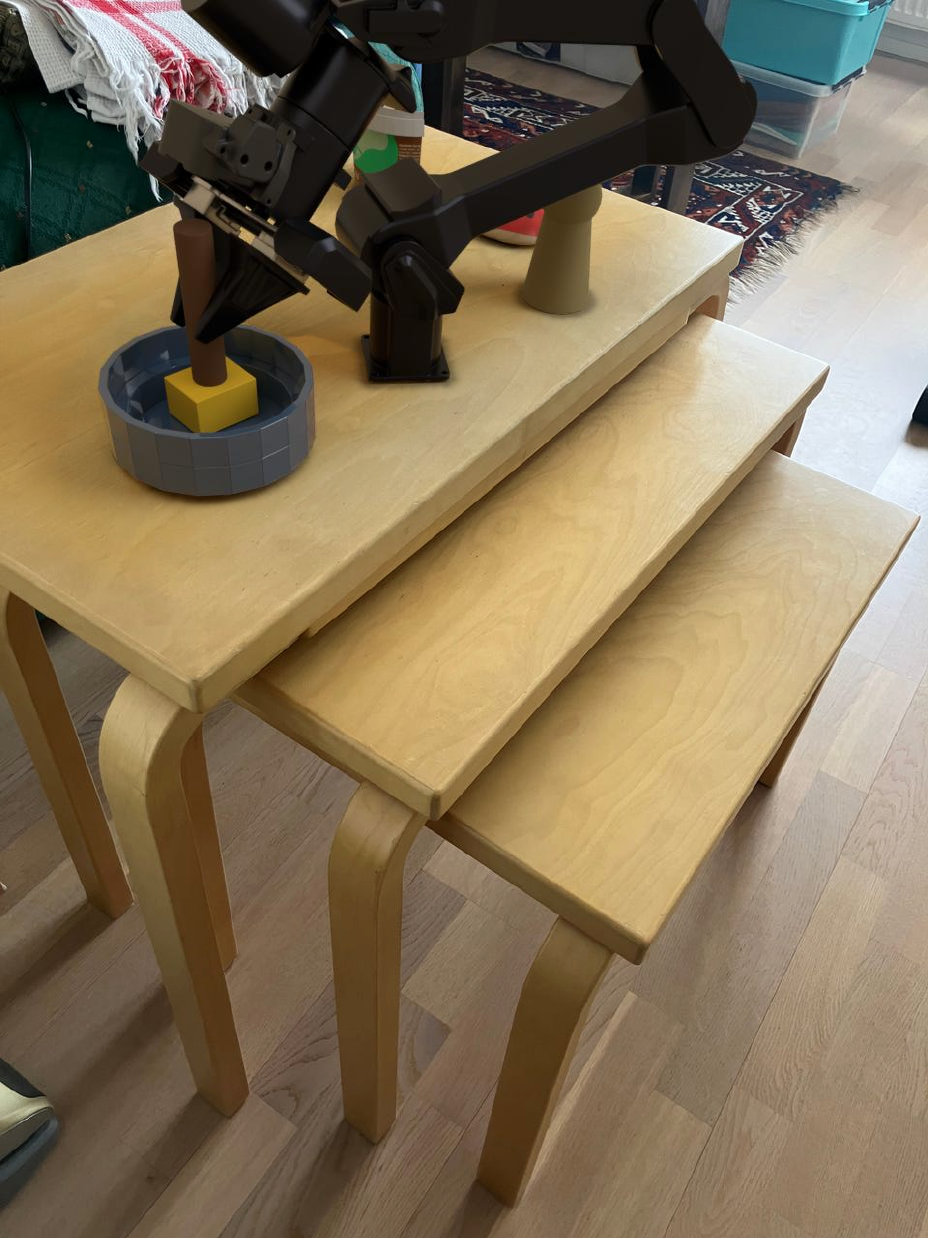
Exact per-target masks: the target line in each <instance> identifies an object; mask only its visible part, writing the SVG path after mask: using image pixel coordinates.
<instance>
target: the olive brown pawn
mask: <svg viewBox="0 0 928 1238" xmlns="http://www.w3.org/2000/svg"><path fill="white" fill-rule="evenodd" d="M602 201H603V187H602V183H601V184H599V185H596V186H594V187H592V188H589V189H587V190H585V191H582V192H580V193H578V194H575V195H573V196H571V197H568V198H566V199H564V200H561V201H559V202H557V203H554V204H552V205H550V206H547V207H545V208H543V210H544V214H543V218H542V221H541V225H540V228H539V232H538V236H537V239H536V243H535V244H534V246H533V249H532V254H531V257H530V261H529V265H528V268H527V272H526V276H525V280H524V282H523V283H524V284H523V287H522V289H521V296H522V298H523V300H524V302H525V303H526V304H527V305H529V306H530V307H532V308H535V309H536V310H538V311H541V312H544V313H549V314H555V315H567V314H568V315H569V314H574V313H577V312H580V311H582V310H583V309H585V308H586V307H587V305H588V303H589V295H590V294H589V292H590V270H591V269H590V268H591V246H592V224H593V218H594V217H595V216H596V214H597V213H598V211H599V209H600V207H601V205H602Z"/></svg>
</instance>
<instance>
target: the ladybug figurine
mask: <svg viewBox="0 0 928 1238" xmlns="http://www.w3.org/2000/svg"><path fill="white" fill-rule="evenodd" d="M543 214H544V210H543V209H540V210H538V211H536V212H534V213H531V214H529V215H527V216H524V217H522V218H520V219H517V220H515V221H513V222H510V223H508V224H506V225H503V226H501V227H499V228H496V229H494V230H492V231H489V232H487V233H485V234H482V235H481V236H484V237H487V238H490V239H492V240H496V241H498V242H503V243H507V244H512V245H520V246H532V245H534V246H535V243H536V239H537V236H538V232H539V228H540V225H541V221H542V218H543Z"/></svg>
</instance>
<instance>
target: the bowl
mask: <svg viewBox="0 0 928 1238" xmlns="http://www.w3.org/2000/svg"><path fill="white" fill-rule="evenodd" d="M223 337H224V347H225V356H226V357H228V358H229V359H230V360H232V361H233V362H234V363H236V364H237V365H238V366H240V367H241V368H242V369H244V370H245V371H246V372H248V373H249V374H250V375H252V376H253V377H254V378H256V386H257V398H258V411H259V413H258V414H256V415H254V416H252V417H249V418H247V419H245V420H242V421H240V422H238V423H235V424H233V425H231V426H228V427H226V428H224V429H222V430H219V431H217V432H214V433H194V432H193V431H191V430H190V429H189V428H188V427H186V426H185V425H184V424H183V423H182V422H180V421H179V420H178V419H177V418H176V417H174V416H173V415H172V414H171V413H170V412H169V406H168V399H167V393H166V386H165V380H164V377H166V376H169V375H172V374H174V373H177V372H179V371H182V370H184V369H187V368H190V367H191V362H190V354H189V347H188V339H187V332H186V326H185V327H180V326H178V325H176V324H174V325H168V326H161V327H158V328H156V329H153V330H151V331H148V332H145V333H142V334H139V335H137V336H134V337H133V338H131V339H129V340H128V341H127V342H126V343H124V344H123V345H121V346H119V347H118V348H117V349H115V350H114V351H112V353H111V354H110V356H108V357H107V359H106V361H105V362H104V364H103V365H102V366H101V367H100V369H99V374H98V375H99V376H98V382H97V392H98V397H99V401H100V407H101V411H102V416H103V419H104V420H103V421H104V425H105V429H106V436H107V440H108V444H109V445H108V446H109V448H110V449H111V452H112V454H113V456H114V458H115V460H116V463H117V464H118V465H119V466H120V467H121V468H122V469H124V471H126V472H127V473H128V474H130V475H131V476H132V477H133V478H134V479H135V480H137V481H139V482H140V483H144V484H146V485H149V486H151V487H153V488H156V489H158V490H161V491H163V492H169V493H175V494H180V495H187V496H193V497H208V496H209V497H211V496H213V497H214V496H228V495H229V496H231V495H235V494H239V493H243V492H248V491H251V490H255V489H259V488H263V487H267V486H268V485H270V484H273V483H274V482H276V481H278V480H280V479H282V478H284V477H287V476H289V475H290V474H291V473H293V472H294V471H295V470H296V469H297V468H298V467H299V466H300V465H301V464H302V463H303V462H304V461H305V460H306V459H307V458H308V457H309V455H310V452H311V450H312V448H313V445H314V443H315V441H316V437H317V436H316V435H317V434H316V432H317V431H316V401H315V400H316V399H315V397H316V396H315V379H314V371H313V365H312V363H311V361H310V360H309V359H308V357H307V356H306V354H305V353H304V352H303V350H302V349H301V348H300V347H298V346H297V345H296V344H294V343H292V342H291V341H290V340H288V339H286V338H285V337H284V336H282V335H280V334H278V333H275V332H272V331H269V330H266V329H264V328H261V327H258V326H255V325H250V324H243V323H241V324H240V325H238V326H236V327H235V328H233V329H232V330H230V331H228V332H227V333H225V334H223Z"/></svg>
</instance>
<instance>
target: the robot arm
mask: <svg viewBox="0 0 928 1238" xmlns="http://www.w3.org/2000/svg"><path fill="white" fill-rule="evenodd" d="M179 2H180V8H181V10H182V11H183V12H184V13H185V14H187V15H188V16H189V17H190V18H191V19H192V20H193V21H194V22H195V23H197V24H198V25H199V27H201V28H202V29H203V30H204V31H205V32H207V33H208V34H209V35H210V36H211V37H212V38H213V39H214V40H216V41H217V42H218V43H219V44H220V45H221V46H222V47H223V48H224V49H225V50H227V52H229V53H230V54H231V55H232V56H233V57H234V58H235V59H236V60H238V61H239V62H240V63H241V64H242V65H243V66H244V67H246V68H247V69H248V71H250V72H251V73H252V74H253V75H254V76H256V78H260V79H262V78H263V79H264V78H268V77H270V76H272V75H275V76H276V77H278V79H280V80H281V79H283V78H285V77H286V76H287V75H288V76H287V78H286V79H285V81H284V83H283V85H282V87H281V88H280V89H279V91H278V93H277V95H276V97H275V98H274V100H273V101H272V103H271V104H270V106H269V108H267V107H265V106H262V105H261V104H259V103H257V102H255V103H254V104H253V105H250V106H248V107H247V108H246V110H245V111H244V113H243V114H242V113H240V114H238V115H236V117H235V118H233V117H230V116H227V115H225V114H222V113H219V112H216V111H214V110H210V109H207V108H204V107H201V106H198V105H195V104H192V103H189V102H185V101H183V100H179V99H176V98H169V103H168V107H167V111H166V115H165V120H164V124H163V128H162V133H161V137H160V139H159V140H154V141H152V142H151V144H150V145H149V147H148V150H147V151H146V153H145V155H144V157H143V158H142V160H141V161H140V163H139V165H138V166H139V167H140V168H141V169H142V170H144V171H145V172H147V174H149V175H151V176H152V177H153V178H154V179H155V180H157V181H158V182H160V183H161V184H162V185H163V186H165V188H168V189H169V190H170V191H171V192H173V193H174V194H175V195H173V197H172V203H173V206H174V207H176V208H177V209H178V212H179V215H180V220H183V219H190V218H195V219H202V220H205V221H207V222H209V223H210V224H211V226H212V231H213V241H214V251H215V260H216V270H217V280H218V287H217V288H216V290H215V292H214V294H213V296H212V298H211V299H210V301H209V303H208V305H207V307H206V309H205V310H204V312H203V314H202V316H201V318H200V321H199V323H198V325H197V328H196V330H195V332H194V338H195V339H196V340H197V341H199V342H201V343H202V344H204V345H207V344H209V343H210V342H212V341H214V340H215V339H217V338H219V337H220V336H222V335H223V334H225V333H227V332H228V331H230V330H232V329H233V328H235V327H236V326H238V325H240V324H243V323H245V322H246V321H248V320H249V319H251V318H253V317H255V316H257V315H258V314H260V313H262V312H263V311H266V310H267V309H270V308H271V307H272V306H275V305H277V304H279V303H280V302H284V301H285V300H287V299H289V298H291V297H293V296H295V295H297V294H302V295H304V296H306V297H307V296H308V295H309V293H311V288H309V287H308V286H306V285H305V284H306V283H307V281H308V279H309V278H311V279H313V280H314V281H315V282H317V283H318V284H319V285H320V286H321V287H323V288H324V289H325V290H326V293H327V295H329V296H330V297H332V298H333V299H335V300H336V301H338V303H341V304H342V305H344V306H345V307H346V308H349V309H350V310H351V311H353V312H355V313H356V314H357V313H358V312H359V311H360V309H361V308H362V306H363V305H364V303H365V301H366V300H367V299H368V297H369V300H370V301H369V333H365V334H362V335H361V336H360V344H361V348H362V354H363V359H364V365H365V370H366V375H367V380H368V382H371V383H402V382H403V383H405V382H437V381H438V382H441V381H443V382H444V381H448V380H449V379H450V376H451V370H450V368H449V364H448V361H447V359H446V354H445V350H444V347H443V344H442V337H443V322H444V316H445V315H453V314H455V313H456V312H457V311H458V308H459V305H460V303H461V301H462V299H463V296H464V293H465V291H466V287H465V285H464V284H463V283H462V282H461V281H460V279H459V278H458V277H457V276H456V274H455V273H454V272H453V270H452V269H451V267H452V266H453V264H454V263H455V261H456V260H457V259H458V258H459V257H460V256H461V254H462V253H463V251H465V249H466V248H467V247H468V246H469V244H470V243H471V242H472V241H473V240H475V239H476V238H478V237H481V236H483V235H482V234H485V233H487V232H489V231H492V230H494V229H496V228H499V227H501V226H503V225H506V224H508V223H510V222H513V221H515V220H517V219H520V218H522V217H524V216H527V215H529V214H531V213H534V212H536V211H538V210H540V209H543V208H545V207H547V206H550V205H552V204H554V203H557V202H559V201H561V200H564V199H566V198H568V197H571V196H573V195H575V194H578V193H580V192H582V191H585V190H587V189H589V188H592V187H594V186H596V185H599V184H601V185H602V184H604V183H606V182H608V181H610V180H612V179H614V178H618V177H620V176H622V175H624V174H627V173H629V172H631V171H634V170H637V169H639V168H641V167H646V166H651V167H652V166H654V167H655V166H657V167H661V166H662V167H690V166H693V165H698V164H703V163H707V162H710V161H715V160H719V159H722V158H725V157H728V156H729V155H730V154H732V153H735V152H736V151H737V150H738V149H739V148H740V147H742V145H743V144H744V143H745V137H746V136H747V135H748V134H749V132H750V130H751V128H752V126H753V124H754V121H755V118H756V115H757V109H758V97H757V91H756V88H755V86H754V85H753V83H752V82H751V81H749V80H747V79H746V78H745V77H744V76H742V75H741V74H739V73H738V72H737V69H736V67H735V65H734V64H733V62H732V61H731V59H730V58H729V56H728V54H727V53H726V52H725V50H724V48H723V47H722V45H721V44H720V42H719V41H718V40H717V39H716V36H715V35H714V34H713V32H712V31H711V30H710V28H709V26H708V25H707V23H706V22H705V19H704V17H703V14H702V13H701V11H700V9H699V7H698V4H697V2H696V1H695V0H180V1H179ZM330 16H334V17H335V18H336V19H337V20H338V21H339V22H340V23H341V24H342V25H343V26H344V27H345V28H346V29H347V30H348V31H349V32H350V33H351V34H352V35H353V36H350V37H346V36H345V35H344V34H343V33H342V32H341V31H340V30H338V28H337V27H335V25H334V24H332V22H331V21H330V20H329V19H328V18H329V17H330ZM371 43H373V44H380V45H385V46H386V47H387V48H388V49H389V51H391V52H392V53H393V54H394V55H396V56H397V57H398V58H399V59H401V60H403V61H404V62H407V63H412V64H417V65H424V64H427V65H428V64H432V63H439V62H442V61H448V60H455V59H460V58H465V57H469V56H471V55H473V54H475V53H477V52H479V51H481V50H483V49H485V48H487V47H489V46H492V45H497V44H502V43H528V44H530V43H531V44H532V43H533V44H559V45H561V44H562V45H587V46H589V45H591V46H592V45H593V46H594V45H596V46H622V47H632V49H633V54H634V58H635V61H636V64H637V67H638V68H639V69H640V71H641V73H640V74H639V75H638V76H637V78H636V79H635V80H634V82H632V83H631V86H630V87H629V88H628V89H627V90H626V91H625V93H624V94H623V96H621V98H620V99H619V100H617V101H616V102H614V103H612V104H610V105H608V106H605V107H602V108H600V109H598V110H596V111H594V112H591V113H589V114H586V115H583V116H581V117H580V118H576V119H574V120H572V121H569V122H567V123H565V124H563V125H560V126H557V127H555V128H553V129H550V130H548V131H546V132H544V133H541V134H539V135H536V136H534V137H531V138H529V139H527V140H525V141H522V142H520V143H517V144H515V145H513V146H510V147H507V148H506V149H503V150H501V151H498V152H496V153H494V154H492V155H489V156H487V157H484V158H482V159H480V160H479V159H478V160H477V161H475V162H472V163H470V164H467V165H464V166H463V167H460V168H458V169H455V170H453V171H452V172H451V171H450V172H447V173H441V174H440V173H428V172H427V171H426V169H425V168H424V167H423V166H422V164H421V163H420V164H419V163H418V162H417V160H416V159H415V158H414V157H413V156H410V157H407V158H403V159H401V160H399V161H397V162H396V163H394V164H393V165H391V166H389V167H388V168H386V169H384V170H382V171H378V172H374V173H362V174H361V178H362V179H363V181H364V183H361V184H358V185H357V186H355V185H354V186H353V187H352V188H350V189H349V190H347V187H348V186H349V185H350V183H351V182H352V180H353V176H352V175H351V174H350V173H348V172H347V170H345V168H344V167H345V166H346V163H347V162H348V160H349V159H350V157H351V155H352V154H353V150H354V148H355V147H356V145H357V144H358V142H359V140H360V139H361V137H362V136H363V134H364V132H365V131H366V129H367V128H368V126H369V124H370V123H371V121H372V120H373V118H374V116H375V115H376V113H377V111H378V110H379V108H380V107H381V105H382V103H383V104H384V105H385V106H387V107H391V108H394V109H397V110H401V111H404V112H407V113H411V114H412V113H414V112H415V111H418V110H417V109H418V104H417V99H416V98H417V97H416V93H415V89H414V87H413V79H412V78H413V77H412V76H413V68H412V67H411V66H409V65H406V64H401V63H397V62H392V63H389V61H387V60H386V59H385V57H383V56H382V55H381V54H380V53H379V52H378V50H377V49H376V48H374V46H372V44H371ZM332 186H335V187H336V188H338V189H340V190H342V191H344V192H345V191H346V190H347V191H346V192H345V193H344V194H343V196H342V197H341V202H340V204H339V206H338V208H337V211H336V213H335V220H334V229H335V234H336V235H335V236H334V235H333V234H331V232H328V231H326V230H325V229H323V228H321V227H320V226H318V225H316V224H314V223H313V222H311V220H312V218H313V217H314V215H315V213H316V211H317V210H318V208H319V207H320V206H321V203H322V202H323V200H324V199H325V197H326V196H327V194H328V192H329V191H330V189H331V188H332ZM176 195H177V196H176ZM269 220H271V221H273V222H274V223H273V224H272V223H271V222H269ZM241 228H242V229H243V230H245V231H247V232H248V233H250V234H251V235H252V236H254V238H253V239H252V241H251V243H249V242H248V241H246V240H244V239H243V238H241V237H240V235H241V233H242V230H241ZM169 319H170V322H172V323H173V324H174V325H178V326H180V327H185V326H186V324H185V317H184V309H183V301H182V294H181V286H180V279H179V277H178V279H177V284H176V287H175V293H174V297H173V302H172V306H171V311H170V316H169Z"/></svg>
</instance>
